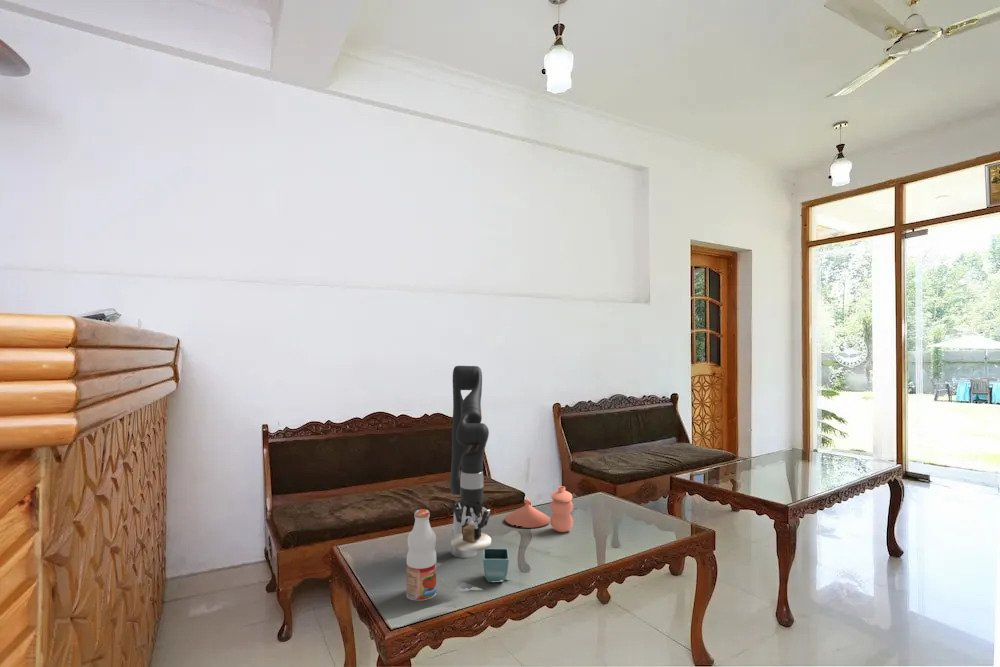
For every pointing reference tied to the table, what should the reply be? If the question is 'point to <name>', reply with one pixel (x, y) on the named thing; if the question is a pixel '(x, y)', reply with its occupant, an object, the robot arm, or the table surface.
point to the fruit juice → (421, 559)
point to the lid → (470, 540)
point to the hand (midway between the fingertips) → (471, 537)
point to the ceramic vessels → (535, 518)
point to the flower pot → (495, 564)
